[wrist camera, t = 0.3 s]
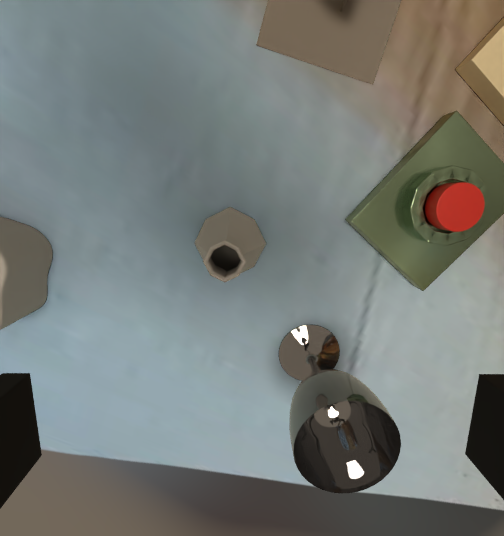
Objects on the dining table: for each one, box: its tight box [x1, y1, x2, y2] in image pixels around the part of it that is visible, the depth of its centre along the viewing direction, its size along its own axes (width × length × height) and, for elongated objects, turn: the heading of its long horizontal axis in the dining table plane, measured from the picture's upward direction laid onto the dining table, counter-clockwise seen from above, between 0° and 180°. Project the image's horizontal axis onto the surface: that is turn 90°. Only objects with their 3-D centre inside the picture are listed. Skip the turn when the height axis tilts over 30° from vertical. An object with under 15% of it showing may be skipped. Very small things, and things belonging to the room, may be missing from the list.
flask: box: [194, 207, 266, 282], centre depth 31 cm, size 7×7×10 cm
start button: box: [425, 182, 485, 232], centre depth 31 cm, size 4×4×2 cm
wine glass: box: [279, 325, 401, 493], centre depth 32 cm, size 8×8×15 cm
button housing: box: [345, 111, 504, 291], centre depth 34 cm, size 14×11×4 cm
